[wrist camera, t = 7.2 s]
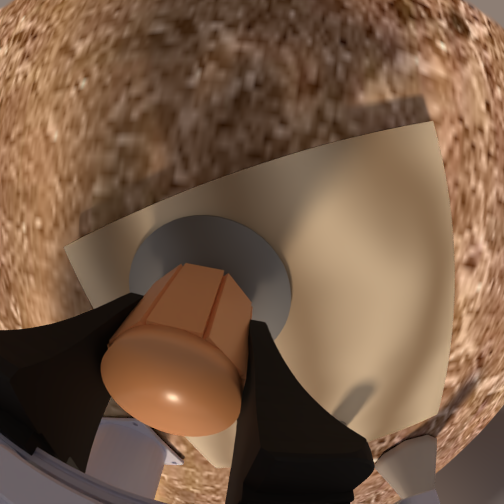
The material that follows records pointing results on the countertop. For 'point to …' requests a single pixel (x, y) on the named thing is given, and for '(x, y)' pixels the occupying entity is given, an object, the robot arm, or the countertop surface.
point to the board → (315, 270)
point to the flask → (410, 466)
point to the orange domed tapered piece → (182, 353)
